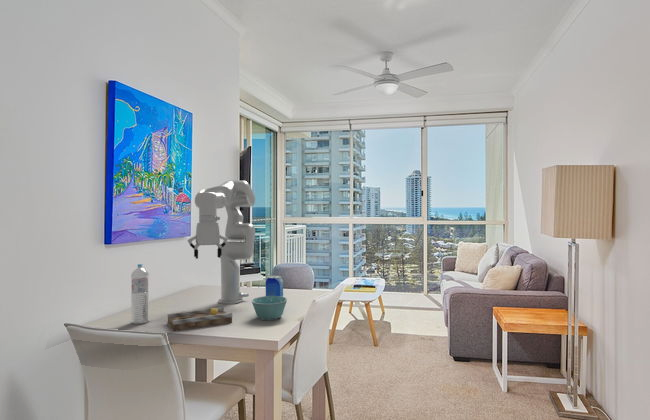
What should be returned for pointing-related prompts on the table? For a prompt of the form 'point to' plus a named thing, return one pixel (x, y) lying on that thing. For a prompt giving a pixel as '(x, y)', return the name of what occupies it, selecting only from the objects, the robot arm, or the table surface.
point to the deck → (198, 319)
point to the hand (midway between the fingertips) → (207, 257)
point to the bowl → (269, 307)
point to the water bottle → (139, 296)
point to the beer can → (274, 286)
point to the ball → (213, 311)
